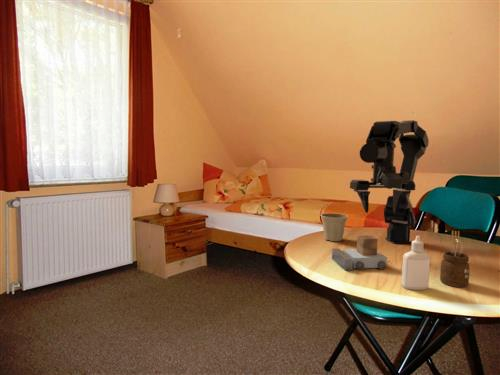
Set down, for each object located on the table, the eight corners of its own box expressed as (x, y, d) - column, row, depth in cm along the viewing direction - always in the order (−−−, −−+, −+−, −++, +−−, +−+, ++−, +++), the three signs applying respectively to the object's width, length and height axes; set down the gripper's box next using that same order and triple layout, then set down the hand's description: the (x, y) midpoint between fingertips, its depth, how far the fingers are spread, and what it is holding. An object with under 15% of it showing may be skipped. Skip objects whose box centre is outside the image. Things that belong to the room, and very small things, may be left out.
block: (370, 251, 99) (371, 235, 98) (376, 255, 95) (377, 238, 94) (356, 251, 98) (357, 235, 98) (362, 255, 94) (363, 239, 94)
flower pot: (314, 237, 126) (315, 213, 125) (335, 235, 130) (336, 212, 129) (330, 244, 117) (331, 218, 116) (352, 241, 121) (353, 216, 120)
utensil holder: (440, 285, 82) (444, 234, 80) (438, 276, 87) (441, 229, 86) (470, 289, 79) (474, 237, 78) (466, 280, 85) (469, 232, 84)
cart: (371, 257, 102) (371, 248, 102) (388, 269, 92) (388, 258, 92) (341, 258, 101) (341, 248, 101) (355, 269, 91) (355, 259, 91)
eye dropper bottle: (428, 293, 77) (432, 239, 76) (400, 288, 80) (404, 236, 78) (428, 286, 81) (431, 235, 80) (401, 282, 83) (404, 232, 82)
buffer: (338, 258, 101) (339, 248, 101) (352, 270, 91) (352, 259, 91) (331, 258, 101) (332, 248, 100) (344, 270, 91) (345, 259, 91)
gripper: (365, 163, 99) (362, 217, 100) (427, 163, 101) (424, 217, 102) (350, 161, 110) (348, 211, 111) (406, 162, 112) (403, 210, 113)
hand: (380, 212), depth 109 cm, fingers open, 9 cm apart
